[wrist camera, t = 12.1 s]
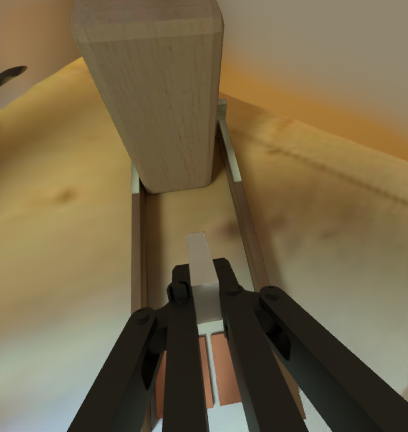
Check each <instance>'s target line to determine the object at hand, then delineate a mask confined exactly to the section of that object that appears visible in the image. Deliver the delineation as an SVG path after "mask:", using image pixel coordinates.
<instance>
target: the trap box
mask: <svg viewBox="0 0 408 432" xmlns="http://www.w3.org/2000/svg"><path fill="white" fill-rule="evenodd" d="M226 108H227V102H226V99H218V106H217V117H216V129H215V136H218V140H219V145H220V149H221V153H222V157H223V161H224V165H225V170H226V174H227V178H228V182H229V186H230V190H231V195H232V199H233V203H234V207H235V211H236V215H237V220H238V224H239V228H240V232H241V236H242V240H243V245H244V249H245V253H246V257H247V261H248V265H249V270H250V274H251V278H252V282H253V286H254V290H255V292H259V291H260V289H261V288H263V287H264V286H270V284H269V281H268V277H267V273H266V270H265V266H264V263H263V259H262V255H261V252H260V248H259V244H258V241H257V237H256V233H255V230H254V226H253V222H252V219H251V215H250V211H249V208H248V204H247V200H246V197H245V193H244V189H243V186H242V182H241V180H242V179H241V176H240V172H239V168H238V165H237V161H236V158H235V154H234V150H233V147H232V143H231V139H230V136H229V132H228V128H227V125H226V121H225V116H226ZM131 193H132V259H131V315H132V314H133V313H134V312H135V311H136V310H138V309H140V308H143V307H148V290H147V252H146V213H145V188H144V185H143V183H142V181H141V179H140V177H139V175H138V173H137V171H136V169H135V166H134V164H133V162H132V160H131ZM199 343H200V352H201V361H202V369H203V378H204V387H205V396H206V405H207V409H208V408H213V401H212V393H211V386H210V378H209V370H208V362H207V354H206V346H205V339H204V337H199ZM211 344H212V351H213V358H214V365H215V372H216V379H217V387H218V394H219V401H220V406H223V405H228V404H233V403H238V402H242V400H241V396H240V392H239V388H238V384H237V380H236V376H235V372H234V368H233V364H232V360H231V355H230V351H229V347H228V343H227V339H226V338H225V337H224V333H222V334H216V335H211ZM270 348H271V347H270ZM271 350H272V349H271ZM272 352H273V354H274V356H275V359H276V361H277V363H278V365H279V367H280V370H281V372H282V374H283V376H284V378H285V381H286V383H287V385H288V387H289V389H290V392H291V394H292V396H293V398H294V400H295V403H296V405H297V407H298V409H299V411H300V414H301V416H302V418H303V419H306V416H305V412H304V409H303V405H302V401H301V398H300V394H299V391H298V387H297V383H296V381H295V380H294V379H293V377H292V376H291V374H290V373H289V372H288V370H287V369H286V368H285V366H284V365H283V364H282V362H281V361H280V359H279V358H278V357H277V355H276V354H275V353H274V351H273V350H272ZM165 368H166V351H164V355H163V358H162V362H161V365H160V369H159V372H158V375H157V379H156V407H157V419H159V418H163V405H164V386H165ZM141 432H151V406H150V402H149V405H148V409H147V412H146V415H145V419H144V422H143V426H142V429H141Z"/></svg>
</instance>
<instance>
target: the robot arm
mask: <svg viewBox="0 0 408 432" xmlns="http://www.w3.org/2000/svg"><path fill="white" fill-rule="evenodd" d="M186 236H187V247H188V258H189V264H184V265H177V266H175V267H174V269H173V270H172V283H170V284H169V286H168V287H167V294H168V299H169V302H168V303H167V304H166V305H165V306H164V307H162V308H160V309H158V310H154V309H152V308H150V307H143V308H140V309H138V310H136V311H135V312H134V313H133V314H132V315H131V316H130V318H129V320H128V322H127V323H126V325H125V327H124V329H123V331H122V332H121V334H120V336H119V338H118V340H117V341H116V343H115V345H114V347H113V349H112V351H111V352H110V354H109V356H108V358H107V360H106V361H105V363H104V365H103V367H102V369H101V370H100V372H99V374H98V376H97V378H96V380H95V381H94V383H93V385H92V387H91V389H90V390H89V392H88V394H87V396H86V398H85V399H84V401H83V403H82V405H81V407H80V409H79V410H78V412H77V414H76V416H75V418H74V419H73V421H72V423H71V425H70V427H69V428H68V430H67V432H141V429H142V426H143V422H144V419H145V415H146V412H147V409H148V405H149V402H150V399H151V395H152V392H153V389H154V385H155V382H156V379H157V375H158V372H159V369H160V365H161V362H162V358H163V355H164V351H166V368H165V386H164V405H163V423H162V432H209V423H208V414H207V405H206V396H205V387H204V378H203V369H202V361H201V352H200V343H199V334H198V327H197V324H201V323H206V322H212V321H217V320H222V318H223V325H224V337H225V338H226V339H227V343H228V347H229V351H230V355H231V360H232V364H233V368H234V372H235V376H236V380H237V384H238V388H239V392H240V396H241V400H242V404H243V408H244V412H245V416H246V420H247V424H248V428H249V432H309V431H308V429H307V427H306V425H305V422H304V420H303V418H302V416H301V414H300V411H299V409H298V407H297V405H296V403H295V400H294V398H293V396H292V394H291V392H290V389H289V387H288V385H287V383H286V381H285V378H284V376H283V374H282V372H281V370H280V367H279V365H278V363H277V361H276V359H275V356H274V354H273V352H272V350H273V351H274V353H275V354H276V355H277V357H278V358H279V359H280V361H281V362H282V364H283V365H284V366H285V368H286V369H287V370H288V372H289V373H290V374H291V376H292V377H293V379H294V380H295V381H296V383H297V384H298V385H299V387H300V388H301V389H302V391H303V392H304V394H305V395H306V396H307V398H308V399H309V400H310V402H311V403H312V404H313V406H314V407H315V409H316V410H317V411H318V413H319V414H320V415H321V417H322V418H323V419H324V421H325V422H326V424H327V425H328V426H329V428H330V429H331V430H332V432H408V402H407V401H406V400H404V398H403V397H401V396H400V395H399V394H398V393H397V392H396V391H395V390H394V389H392V388H391V387H390V386H389V385H388V384H387V383H386V382H385V381H384V380H382V379H381V378H380V377H379V376H378V375H377V374H376V373H375V372H373V371H372V370H371V369H370V368H369V367H368V366H367V365H366V364H364V363H363V362H362V361H361V360H360V359H359V358H358V357H357V356H356V355H354V354H353V353H352V352H351V351H350V350H349V349H348V348H347V347H345V346H344V345H343V344H342V343H341V342H340V341H339V340H338V339H337V338H335V337H334V336H333V335H332V334H331V333H330V332H329V331H328V330H326V329H325V328H324V327H323V326H322V325H321V324H320V323H319V322H317V321H316V320H315V319H314V318H313V317H312V316H311V315H310V314H309V313H307V312H306V311H305V310H304V309H303V308H302V307H301V306H300V305H298V304H297V303H296V302H295V301H294V300H293V299H292V298H291V297H290V296H288V295H287V294H286V293H285V292H284V291H283V290H281V289H280V288H278V287H275V286H264V287H263V288H261V289H260V291H259V292H250V291H247V290H244V289H243V287H242V286H241V285H239V284H238V281H237V279H236V277H235V274H234V272H233V270H232V268H231V265H230V263H229V261H228V260H226V259H225V258H219V259H213V260H212V257H211V254H210V251H209V247H208V244H207V241H206V237H205V234H204V232H197V233H190V234H186ZM270 347H271V348H270ZM271 349H272V350H271Z"/></svg>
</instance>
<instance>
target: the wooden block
mask: <svg viewBox="0 0 408 432" xmlns="http://www.w3.org/2000/svg"><path fill="white" fill-rule="evenodd" d="M71 26H72V34H73V37H74V39H75V42H76V44H77V46H78V48H79V50H80V52H81V54H82V56H83V59H84V61H85V63H86V65H87V67H88V69H89V71H90V73H91V75H92V78H93V80H94V82H95V84H96V86H97V88H98V90H99V92H100V95H101V97H102V99H103V101H104V103H105V105H106V107H107V109H108V111H109V114H110V116H111V118H112V120H113V122H114V124H115V126H116V128H117V130H118V133H119V135H120V137H121V139H122V141H123V143H124V145H125V147H126V150H127V152H128V154H129V156H130V158H131V160H132V162H133V164H134V166H135V169H136V171H137V173H138V175H139V177H140V179H141V181H142V183H143V185H144V188H145V189H146V191H147V193H149V194H158V193H165V192H172V191H179V190H186V189H193V188H200V187H206V186H208V185H210V183H211V177H212V165H213V153H214V141H215V129H216V117H217V106H218V94H219V82H220V70H221V57H222V46H223V34H224V22H223V17H222V13H221V10H220V8H219V6H218V4H217V1H216V0H75V4H74V8H73V13H72V18H71Z"/></svg>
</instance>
